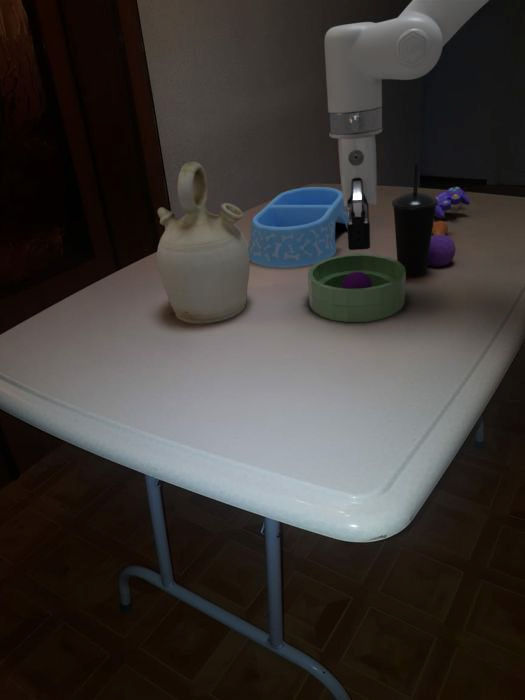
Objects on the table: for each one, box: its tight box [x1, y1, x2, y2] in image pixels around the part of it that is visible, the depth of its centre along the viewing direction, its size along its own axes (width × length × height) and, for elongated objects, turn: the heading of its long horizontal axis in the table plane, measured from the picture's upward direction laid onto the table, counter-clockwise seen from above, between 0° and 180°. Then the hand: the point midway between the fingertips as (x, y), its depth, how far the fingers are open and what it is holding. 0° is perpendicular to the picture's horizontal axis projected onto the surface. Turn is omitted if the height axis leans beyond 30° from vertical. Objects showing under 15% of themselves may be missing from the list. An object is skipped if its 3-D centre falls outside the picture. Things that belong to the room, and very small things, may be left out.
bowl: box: [307, 253, 407, 323], centre depth 92 cm, size 16×16×6 cm
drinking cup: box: [391, 161, 438, 278], centre depth 97 cm, size 8×8×20 cm
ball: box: [342, 272, 372, 289], centre depth 92 cm, size 5×5×5 cm
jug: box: [156, 161, 251, 324], centre depth 91 cm, size 15×16×25 cm
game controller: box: [434, 185, 471, 223], centre depth 128 cm, size 10×8×10 cm
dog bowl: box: [248, 186, 349, 269], centre depth 122 cm, size 34×19×8 cm, turn 161°
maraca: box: [427, 220, 456, 268], centre depth 109 cm, size 6×6×20 cm
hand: (359, 238), depth 88 cm, fingers open, 9 cm apart
